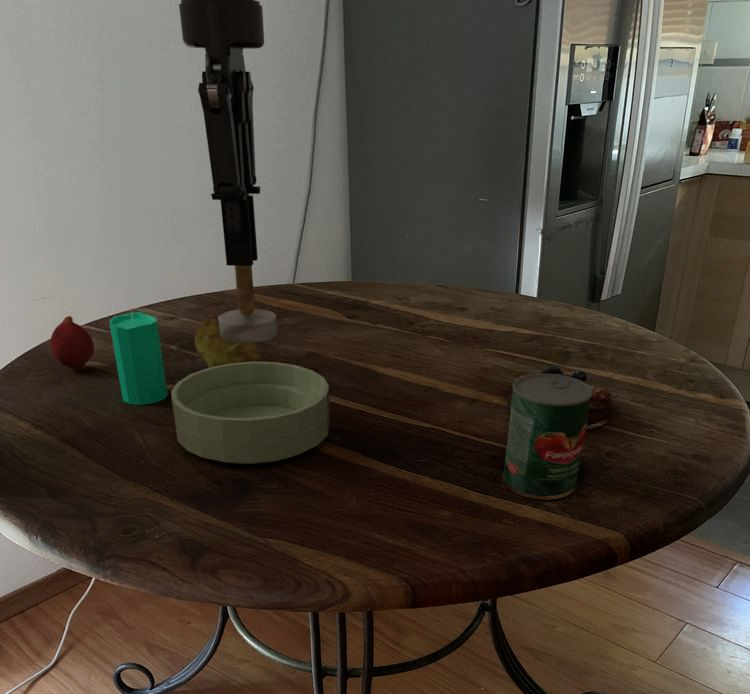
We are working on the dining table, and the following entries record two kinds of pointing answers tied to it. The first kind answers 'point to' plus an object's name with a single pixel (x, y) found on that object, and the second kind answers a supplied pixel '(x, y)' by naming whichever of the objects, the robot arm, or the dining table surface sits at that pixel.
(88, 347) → the onion
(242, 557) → the dining table surface
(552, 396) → the canned tomato
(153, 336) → the candle
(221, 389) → the bowl
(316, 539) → the dining table surface
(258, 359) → the potato
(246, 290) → the paper towel holder
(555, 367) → the pastry
